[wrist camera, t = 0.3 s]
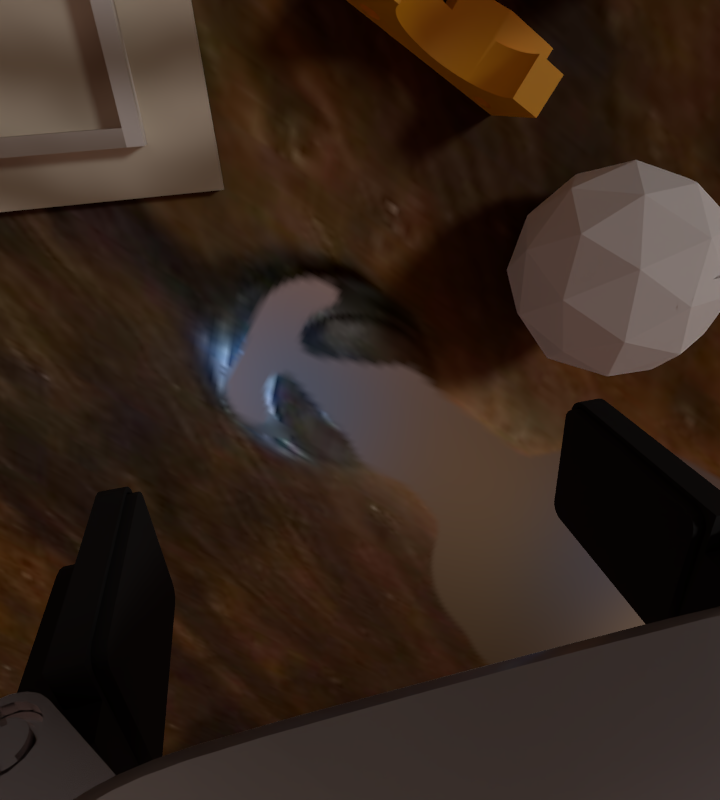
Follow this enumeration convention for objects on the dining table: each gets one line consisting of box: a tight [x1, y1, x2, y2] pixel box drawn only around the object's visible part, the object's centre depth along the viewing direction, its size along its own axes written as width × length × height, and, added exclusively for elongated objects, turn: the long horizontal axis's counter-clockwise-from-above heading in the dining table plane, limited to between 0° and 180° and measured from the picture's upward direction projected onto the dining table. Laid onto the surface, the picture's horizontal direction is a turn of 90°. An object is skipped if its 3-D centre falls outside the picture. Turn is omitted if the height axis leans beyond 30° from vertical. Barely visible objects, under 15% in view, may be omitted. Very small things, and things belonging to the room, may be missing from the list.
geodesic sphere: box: [507, 160, 720, 376], centre depth 37 cm, size 15×14×14 cm
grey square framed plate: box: [0, 0, 224, 212], centre depth 30 cm, size 16×18×3 cm
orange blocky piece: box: [346, 0, 563, 118], centre depth 32 cm, size 12×4×6 cm, turn 59°
